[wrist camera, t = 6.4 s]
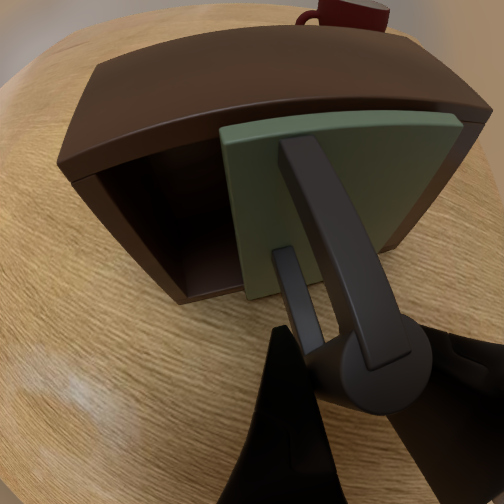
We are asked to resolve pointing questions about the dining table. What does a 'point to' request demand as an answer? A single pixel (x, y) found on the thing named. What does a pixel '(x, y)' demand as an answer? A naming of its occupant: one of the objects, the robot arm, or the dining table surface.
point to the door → (337, 238)
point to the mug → (349, 14)
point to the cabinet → (231, 113)
